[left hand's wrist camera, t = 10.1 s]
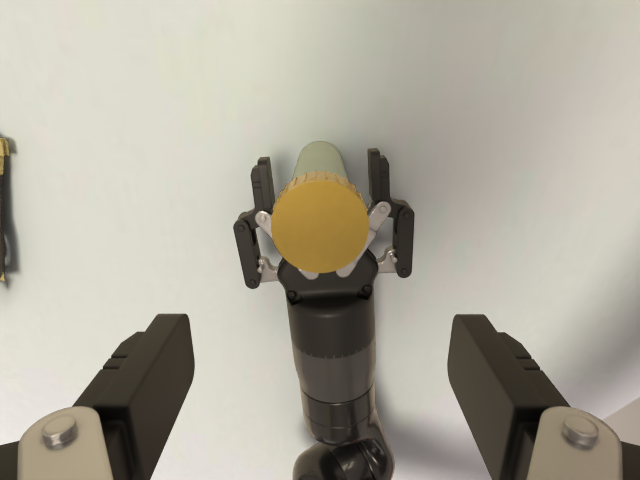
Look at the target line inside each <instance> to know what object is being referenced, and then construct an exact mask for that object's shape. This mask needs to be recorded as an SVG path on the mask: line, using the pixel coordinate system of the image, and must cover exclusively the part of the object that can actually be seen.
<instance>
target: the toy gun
mask: <svg viewBox="0 0 640 480" xmlns="http://www.w3.org/2000/svg"><path fill="white" fill-rule="evenodd" d="M5 155H7V156H10V155H9V148H8V141H6V139H4V138H0V280H2V281H5V279H4V271H5V244H4V237H3V231H2V227H1V202H2V175H3V167H4V156H5Z"/></svg>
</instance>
